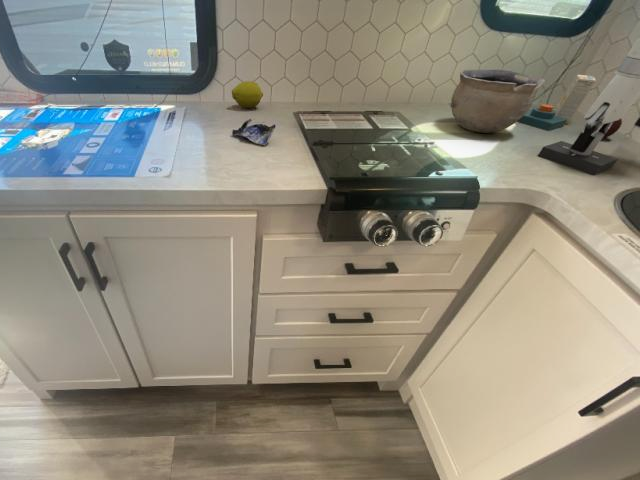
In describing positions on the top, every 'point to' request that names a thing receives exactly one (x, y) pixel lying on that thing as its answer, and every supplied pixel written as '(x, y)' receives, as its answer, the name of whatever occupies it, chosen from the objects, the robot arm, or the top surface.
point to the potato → (613, 128)
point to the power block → (542, 119)
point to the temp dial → (592, 145)
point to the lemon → (247, 94)
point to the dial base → (577, 158)
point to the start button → (545, 108)
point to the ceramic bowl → (492, 99)
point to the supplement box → (574, 96)
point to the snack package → (255, 132)
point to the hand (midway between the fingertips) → (582, 148)
